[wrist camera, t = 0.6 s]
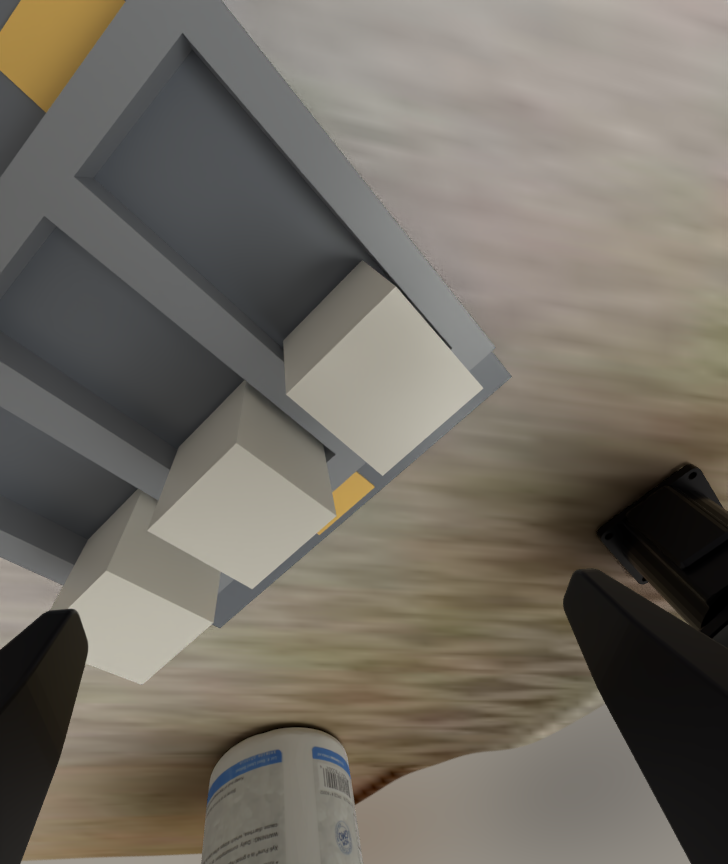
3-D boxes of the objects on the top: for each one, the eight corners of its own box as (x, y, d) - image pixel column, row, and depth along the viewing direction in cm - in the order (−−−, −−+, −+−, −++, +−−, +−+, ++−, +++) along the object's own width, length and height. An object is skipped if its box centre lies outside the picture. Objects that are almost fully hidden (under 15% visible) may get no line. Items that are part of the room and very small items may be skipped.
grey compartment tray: (499, 367, 20) (529, 390, 18) (222, 609, 24) (216, 654, 22) (109, -117, 12) (67, -195, 9) (-222, 383, 16) (-310, 417, 13)
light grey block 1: (227, 528, 20) (213, 622, 15) (170, 581, 21) (141, 684, 16) (147, 479, 18) (106, 570, 14) (88, 539, 19) (32, 643, 15)
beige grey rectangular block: (431, 338, 17) (483, 388, 13) (356, 408, 18) (382, 475, 14) (362, 259, 16) (395, 286, 11) (283, 340, 16) (285, 394, 12)
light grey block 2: (322, 440, 19) (336, 515, 14) (257, 500, 19) (252, 589, 15) (246, 377, 17) (236, 442, 12) (178, 446, 18) (146, 530, 13)
